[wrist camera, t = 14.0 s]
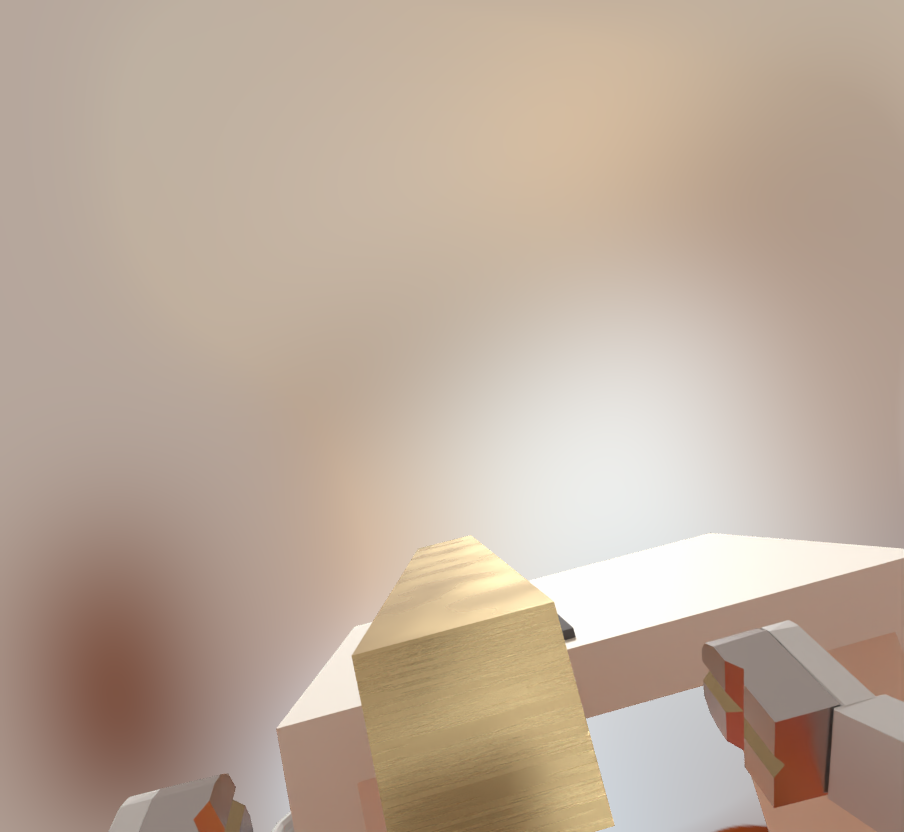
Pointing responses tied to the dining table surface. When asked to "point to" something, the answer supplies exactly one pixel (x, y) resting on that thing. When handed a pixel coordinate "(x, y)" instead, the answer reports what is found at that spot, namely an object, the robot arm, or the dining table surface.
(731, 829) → the dining table surface
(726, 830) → the dining table surface
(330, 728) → the white upright block
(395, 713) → the light wood bar
